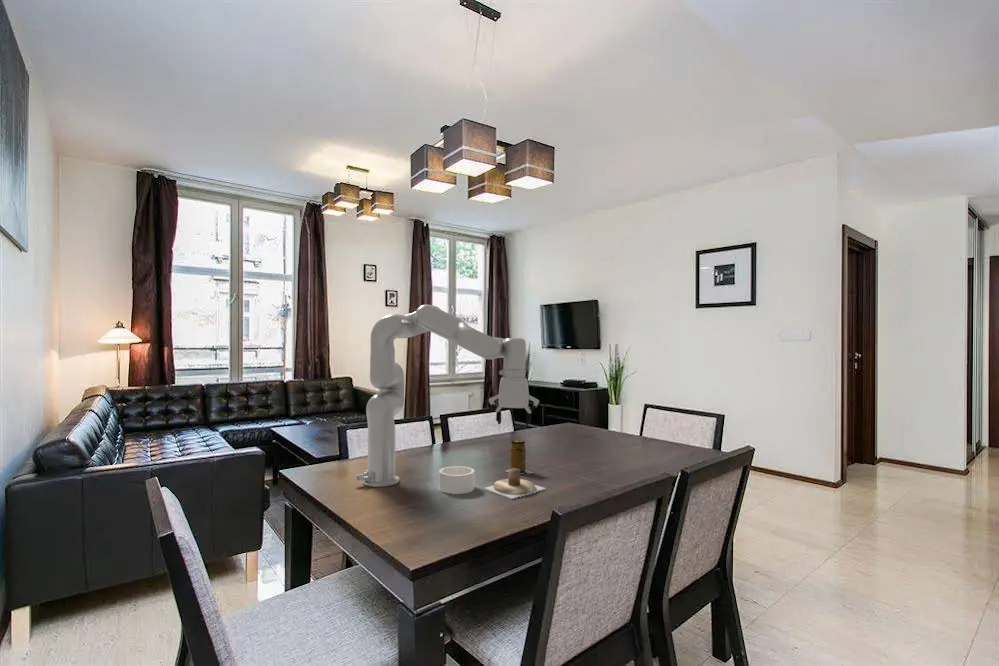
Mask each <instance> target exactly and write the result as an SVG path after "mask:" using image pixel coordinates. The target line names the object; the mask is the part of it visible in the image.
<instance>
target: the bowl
mask: <svg viewBox="0 0 999 666" xmlns="http://www.w3.org/2000/svg"><path fill="white" fill-rule="evenodd" d="M475 487H476V471H475V469H474V468H472V467H469V466H464V465H463V466H461V465H457V466H455V465H454V466H447V467H442V468H440V469H439V470H438V490H439V492H442V493H444V492H445V493H444V494H450V493H451V494H452V495H460V494H463V495H464V494H468V493H471V492H473V491H474V490H475V489H476V488H475Z"/></svg>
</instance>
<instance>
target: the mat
mask: <svg viewBox="0 0 999 666" xmlns="http://www.w3.org/2000/svg"><path fill="white" fill-rule="evenodd" d="M482 489H483V491H487V492H488V493H491V492H492V494H494V493H495V495H497V494H498V495H497V496H500V495H501V496H500V497H503V498H505V497H506V498H505V499H508V498H509V500H511V499H513V500H516V499H519V498H518V497H520V498H522V496H523V497H526V496H530V495H533V494H536V492H537V493H540V492H543V491H546V490H547V489H546V487H543V486H540V485H536V484H535V490H534V491H532V492H530V493H526V494H505V493H500V492H498V491H496V490H494V484H493V485H489V486H486V487H483V488H482ZM539 491H540V492H539ZM532 493H533V494H532ZM529 494H530V495H529ZM525 495H526V496H525ZM515 498H516V499H515Z"/></svg>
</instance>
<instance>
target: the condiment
mask: <svg viewBox="0 0 999 666" xmlns="http://www.w3.org/2000/svg"><path fill="white" fill-rule="evenodd" d="M525 443H526V442H525V440H523V439H512V440H511V442H510V447H509V448H510V449H509V469H511V468H517V469H520V473H524V472H525V470H526V456H527V453H526V447H525V446H526V445H525ZM509 469H507V470H505V472H507V473H509ZM526 471H527V472H528V473H527V474H526V475H529V474H533V473H534V472H533V471H529V470H526ZM529 472H530V473H529ZM525 473H526V472H525Z"/></svg>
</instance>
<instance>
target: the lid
mask: <svg viewBox="0 0 999 666" xmlns="http://www.w3.org/2000/svg"><path fill="white" fill-rule="evenodd" d="M508 470H509V472H508V475H507V477H508V478H506V479H505V478H504V479H499V480H496V481H495V482H494V483H493V485H494V490H496V491H498V492H500V493H505V494H526V493H530V492H532V491H534V490H535V485H536V484H535V483H534V482H533V481H530V480H527V479H522V478H521V475H520V469H517V468H511V469H510V468H508Z"/></svg>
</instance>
